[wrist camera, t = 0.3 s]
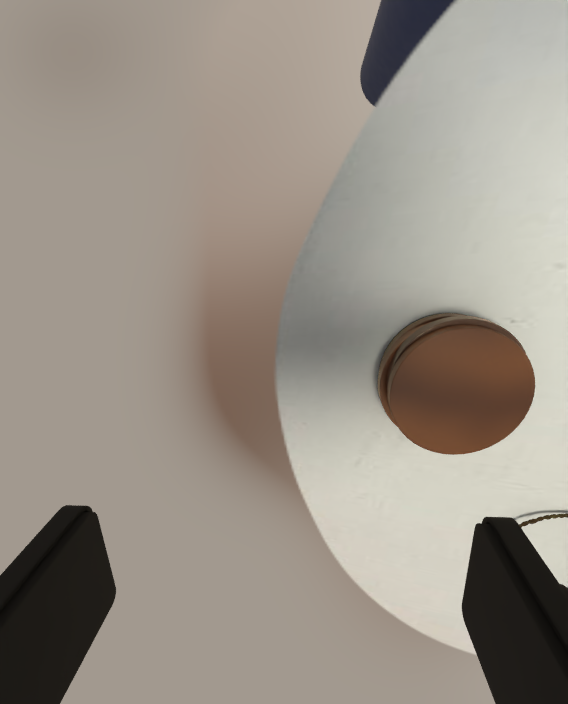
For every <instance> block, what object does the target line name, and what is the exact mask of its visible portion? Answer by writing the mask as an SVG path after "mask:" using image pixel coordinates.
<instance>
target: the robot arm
mask: <svg viewBox="0 0 568 704" xmlns="http://www.w3.org/2000/svg"><path fill="white" fill-rule="evenodd" d="M115 594H116V587H115V583H114V579H113V575H112V571H111V567H110V563H109V559H108V555H107V551H106V548H105V544H104V540H103V536H102V532H101V528H100V524H99V520H98V516H97V514H96V513H95V512H92V509H91V508H90V507H89V506H72V505H66V506H64V507H62V508H61V509H60V510H59V511H58V512H57V513H56V514H55V515H54V516H53V517H52V519H51V520H50V521H49V522H48V523H47V524H46V525H45V526H44V528H43V529H42V530H41V531H40V532H39V533H38V534H37V535H36V536H35V537H34V539H33V540H32V541H31V542H30V543H29V544H28V545H27V546H26V547H25V549H24V550H23V551H22V552H21V553H20V554H19V555H18V556H17V557H16V559H15V560H14V561H13V562H12V563H11V564H10V565H9V566H8V567H7V569H6V570H5V571H4V572H3V573H2V574H1V575H0V704H60V703H61V700H62V699H63V697H64V695H65V693H66V691H67V689H68V687H69V685H70V683H71V682H72V680H73V678H74V676H75V674H76V672H77V671H78V669H79V667H80V665H81V663H82V661H83V659H84V657H85V655H86V654H87V652H88V650H89V648H90V646H91V644H92V642H93V640H94V638H95V637H96V635H97V633H98V631H99V629H100V627H101V625H102V624H103V622H104V620H105V618H106V616H107V614H108V612H109V610H110V608H111V607H112V604H113V602H114V599H115ZM462 613H463V618H464V622H465V625H466V627H467V630H468V633H469V635H470V638H471V640H472V643H473V646H474V648H475V651H476V653H477V656H478V659H479V661H480V664H481V666H482V669H483V672H484V674H485V677H486V679H487V682H488V685H489V688H490V690H491V693H492V695H493V698H494V701H495V703H496V704H568V588H567V587H565V586H564V585H561V584H559V583H558V581H557V580H556V578H555V577H554V576H553V574H552V573H551V571H550V570H549V568H548V567H547V565H546V564H545V562H544V561H543V560H542V558H541V557H540V555H539V554H538V552H537V551H536V549H535V548H534V546H533V545H532V544H531V542H530V541H529V539H528V538H527V536H526V535H525V533H524V532H523V530H522V529H521V528H520V526H519V525H518V523H517V522H516V521H515V520H514V519H513V518H505V517H485V518H484V519H483V521H482V524H480V523H478V524H476V526H475V530H474V536H473V542H472V548H471V554H470V560H469V566H468V572H467V577H466V583H465V589H464V595H463V601H462Z"/></svg>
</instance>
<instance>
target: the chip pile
mask: <svg viewBox="0 0 568 704" xmlns="http://www.w3.org/2000/svg"><path fill="white" fill-rule="evenodd" d="M534 391H535V377H534V372H533V368H532V365H531V362H530V360H529V359H528V357H527V355H526V353H525V350H524V349H523V347H522V345H521V344H520V342H519V341H518V340H517V339H516V338H515V337H514V336H513V335H512V334H511V333H510V332H509V331H507V330H506V329H504V328H502V327H501V326H499V325H497V324H495V323H493V322H491V321H488V320H486V319H482V318H479V317H473V316H467V315H462V314H456V313H443V314H436V315H431V316H428V317H425V318H422V319H419V320H417V321H415V322H413V323H412V324H410V325H408V326H407V327H405V328H404V329H403V330H402V331H401V332H399V333H398V334H397V335H396V336H395V337H394V338H393V340H392V341H391V342H390V344H389V345H388V347H387V349H386V350H385V352H384V355H383V357H382V360H381V363H380V368H379V374H378V392H379V397H380V400H381V403H382V405H383V408H384V410H385V412H386V414H387V415H388V417H389V418H390V419H391V421H392V422H393V423H394V424H395V425H396V426H397V427H398V428H399V429H400V430H401V432H402V433H403V434H404V435H405V436H406V437H407V438H408V439H409V440H411V441H412V442H413V443H415V444H417V445H418V446H420V447H422V448H425V449H427V450H430V451H433V452H436V453H442V454H466V453H472V452H476V451H480V450H482V449H485V448H488V447H490V446H492V445H494V444H496V443H498V442H499V441H501V440H502V439H504V438H505V437H507V436H508V435H509V434H510V433H512V432H513V431H514V430H515V429H516V428H517V427H518V426H519V424H520V423H521V422H522V420H523V419H524V418H525V416H526V414H527V412H528V411H529V408H530V406H531V404H532V400H533V397H534Z"/></svg>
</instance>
